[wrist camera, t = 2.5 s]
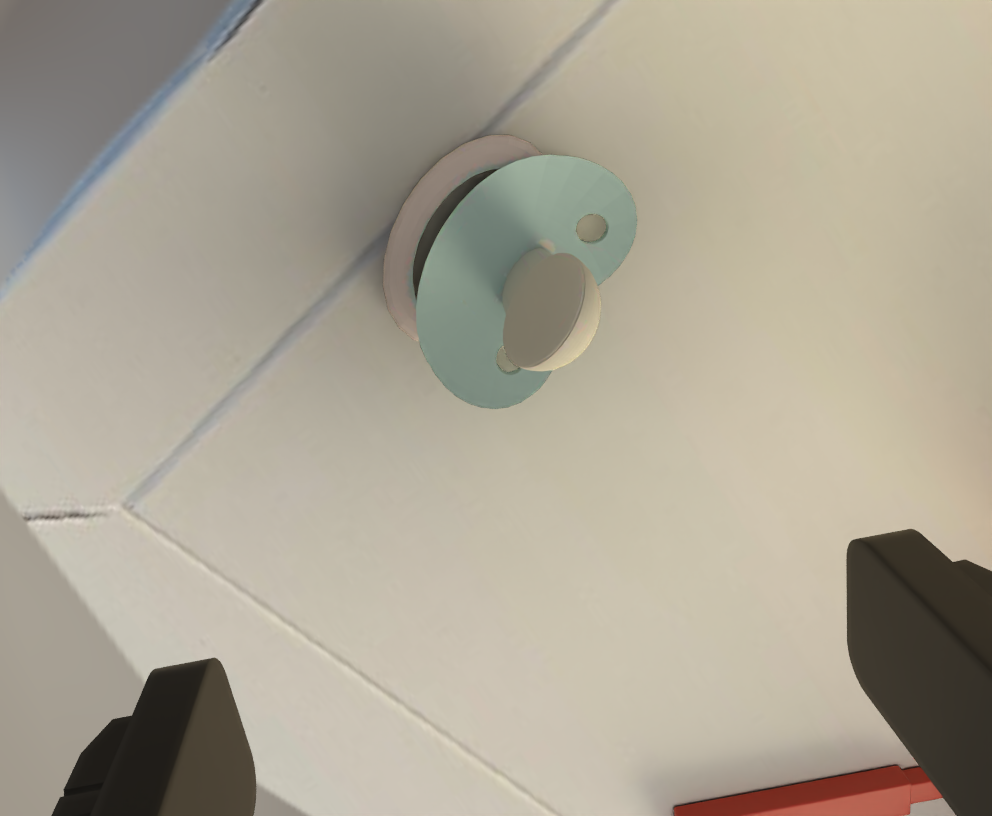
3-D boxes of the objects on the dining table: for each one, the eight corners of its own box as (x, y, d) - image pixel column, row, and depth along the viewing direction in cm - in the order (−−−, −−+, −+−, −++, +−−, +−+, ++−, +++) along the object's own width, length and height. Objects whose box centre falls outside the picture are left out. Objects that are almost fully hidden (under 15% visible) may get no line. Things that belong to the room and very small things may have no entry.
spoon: (677, 865, 35) (686, 891, 34) (670, 776, 34) (679, 800, 32) (1057, 793, 36) (1078, 816, 35) (1069, 702, 34) (1091, 723, 33)
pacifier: (342, 309, 26) (514, 405, 28) (318, 373, 20) (539, 491, 22) (469, 84, 24) (647, 198, 26) (484, 82, 18) (713, 231, 20)
